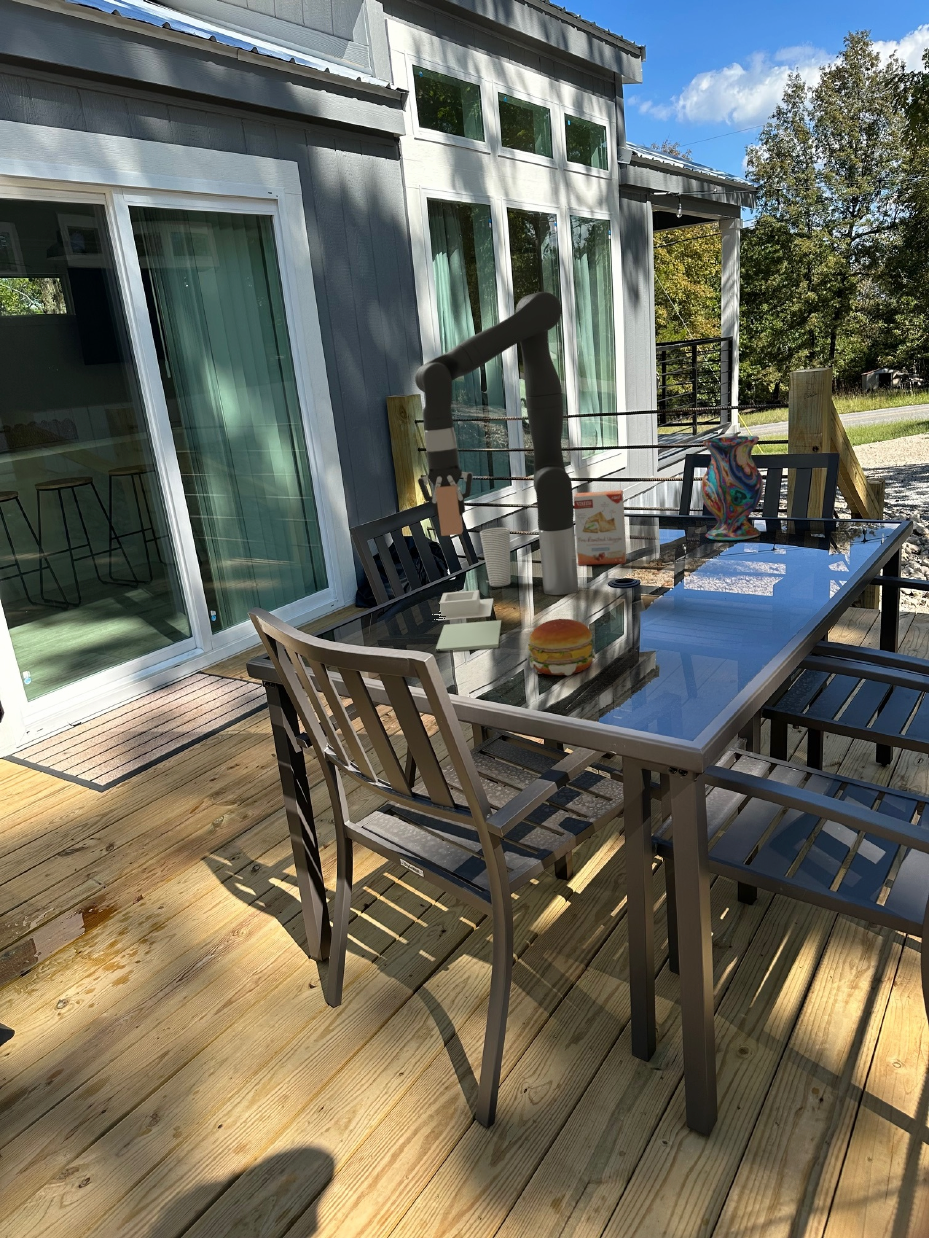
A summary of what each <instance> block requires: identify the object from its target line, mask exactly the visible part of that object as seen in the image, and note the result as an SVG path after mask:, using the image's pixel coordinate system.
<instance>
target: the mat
mask: <svg viewBox="0 0 929 1238" xmlns="http://www.w3.org/2000/svg"><path fill="white" fill-rule="evenodd" d="M501 626H502V619H498V620H488V621H486V620H485V621H476V622H474V621H473V622H464V623H452V624H450V623H449V624H444V625H443V627H442V630H441V633H440V636H439V638H438V641H437V644H436V646H435V650H436V649H437V650H438V649H440V650H460V651H469V650H470V651H471V650H473V651H474V650H484V649H485V650H487V649H496V648H497V649H498V648H499V644H500V637H501V628H502V627H501Z"/></svg>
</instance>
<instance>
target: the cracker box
mask: <svg viewBox="0 0 929 1238" xmlns="http://www.w3.org/2000/svg"><path fill="white" fill-rule="evenodd" d="M624 503H625V502H624V491H623V489H622V490H621V489H620V490H605V491H592V492H576V493H575V494H574V495H573V510H574V522H575V524H574V525H575V536H576V538H575V539H576V551H577V552H576V554H577V563H578V564H577V565H578V566H587V565H589V566H590V565H591V566H592V565H609V564H610V565H612V564H614V565H615V564H626V561H627V544H626V543H627V541H626V524H625V521H626V520H625V505H624Z"/></svg>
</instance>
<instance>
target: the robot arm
mask: <svg viewBox="0 0 929 1238" xmlns="http://www.w3.org/2000/svg"><path fill="white" fill-rule="evenodd" d="M561 317H562V304H561V302H560V301H559V299H558V297H556V295H554V294H553V293H550V292H546V291H538V292H535V293H530V294H528V295H524V296H523V297H522V298H521V299H520V300H519V301H518V303H517V305H516V308H515V313H514V314H512V315H510V316H509V317H507V318H506V319H504V320H502V321H501V322H498V323H496V324H495V325H492V326H491V327H488V328H487V329H484V330H482V331H480V332H478V333H476V334H474V335H472V336H471V337H468V338H467V339H466V340H464V341H462V342H461V343H459V344H457V345H456V346H454V347H453V348H451V349H450V350H448V351H447V352H445V353H443V354H441V355H439V356H437V357H434V358H433V359H432V360H429V361H427V362H425V363H424V364H422V365H421V366H419V368H418V369H417V371H416V373H415V376H414V380H415V381H414V382H415V384H416V387H417V388H418V389H419V391H421V392H423V393H424V397H425V399H424V400H425V406H424V408H423V410H422V419H423V424H424V425H423V427H424V441H425V449H426V457H427V458H426V459H427V465H428V473H427V475H426V476H423V477H421V476H420V477H419V478H418V479H417V483H418V485H419V486H418V487H419V489H420V490H421V494H422V496H423V499H424V501H425V502H426V503H429V502H430V503H431V504H432V506H433V507H432V508H433V514H434V516H435V517H437V519H439V513H438V505H437V497H436V489H435V488H436V487H442V486H454V485H456V491H457V498H458V499H459V500H458V505H459V514H460V516H461V517H462V516H463V515H464V514H465V511H466V506H465V499H467V498H469V497H470V496H471V492H472V483H473V477H474V476H473V475H474V473H473V472H472V471H469V472H466V471H462V469H461V467H460V463H459V462H460V461H459V453H458V445H457V437H456V432H455V428H454V421H453V420H454V419H453V412H452V401H453V400H452V399H453V398H452V397H453V381H455V380H456V379H458V378H460V377H464V376H467V375H469V374H471V373H472V372H475V370H477V369H479V368H480V367H482V366H483V365H485V364H486V363H488V362H489V361H491V360H492V359H494V358H496V357H498V356H499V355H500V354H502V353H503V352H505V351H507V350H508V349H510V348H512V347H514V346H515V345H517V344H519V343H520V348H521V354H522V355H521V356H522V367H523V368H522V369H523V378H524V379H523V380H524V389H525V395H524V396H525V401H526V411H527V412H526V413H527V419H528V426H529V432H530V437H531V440H532V441H531V442H532V447H533V489H534V491H535V493H536V494H535V496H536V505H537V506H536V507H537V529H538V539H539V550H540V562H541V563H540V564H541V573H542V575H541V576H542V586H543V593H544V594H546V595H550V596H562V595H564V596H565V595H569V594H573V593H578V592H580V590H579V589H580V588H579V578H578V566H577V565H578V564H577V563H578V560H577V552H576V542H575V541H576V540H575V530H574V517H575V509H574V495H573V494H574V493H573V486H572V485H573V484H572V480H571V477H570V475H569V474H568V473H567V471H566V467H565V462H564V455H563V450H562V437H563V429H564V428H563V427H564V426H563V425H564V399H563V388H562V383H561V381H560V378H559V377H560V376H559V373H558V372H557V369H556V366H555V364H554V363H553V359H552V357H551V354H550V347H549V331H550V330H552V329H553V328H554V327H555V326H556V325H557V324H558V323H559V321H560V319H561ZM462 477H463V480H464V482H465V483H466V484H465V492H462V490H461V487H460V485H459V481H460V480H461V478H462ZM429 481H430V482H431V483H432V485H433V486H434V490H433V495H432V496H431V495H430V492H429V489H428V484H429Z"/></svg>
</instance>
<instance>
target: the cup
mask: <svg viewBox="0 0 929 1238" xmlns="http://www.w3.org/2000/svg"><path fill="white" fill-rule="evenodd" d="M510 531H511V530H510V528H508V527H500V526H499V527H489V528H486V529H482V530H480V531H479V536H480V541H481V547H482V551H483V557H484V561H485V567H486V568H485V569H486V572H487V577H488V582H489V586H490V587H497V588H499V587H504V586H508V585H510V584H511V537H510V536H511V532H510Z"/></svg>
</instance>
